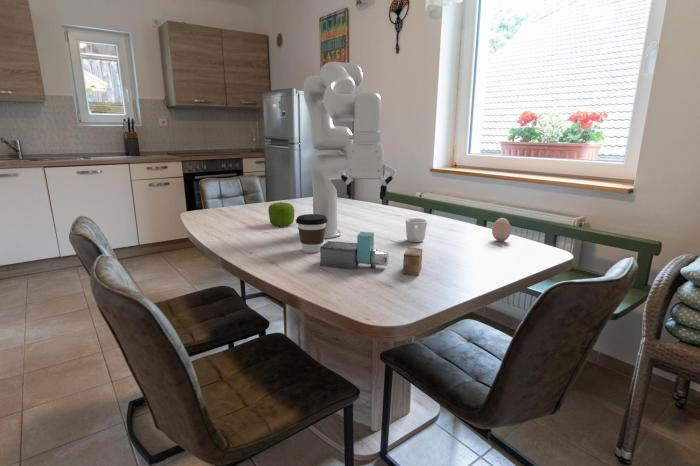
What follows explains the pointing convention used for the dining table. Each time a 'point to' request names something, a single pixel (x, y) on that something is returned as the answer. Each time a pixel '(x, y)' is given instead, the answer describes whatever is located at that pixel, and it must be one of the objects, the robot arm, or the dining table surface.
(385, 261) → the plug
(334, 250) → the sleeve
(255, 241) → the dining table surface
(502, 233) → the egg
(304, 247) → the coffee cup
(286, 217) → the apple
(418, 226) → the cup
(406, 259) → the cardboard box
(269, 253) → the dining table surface
